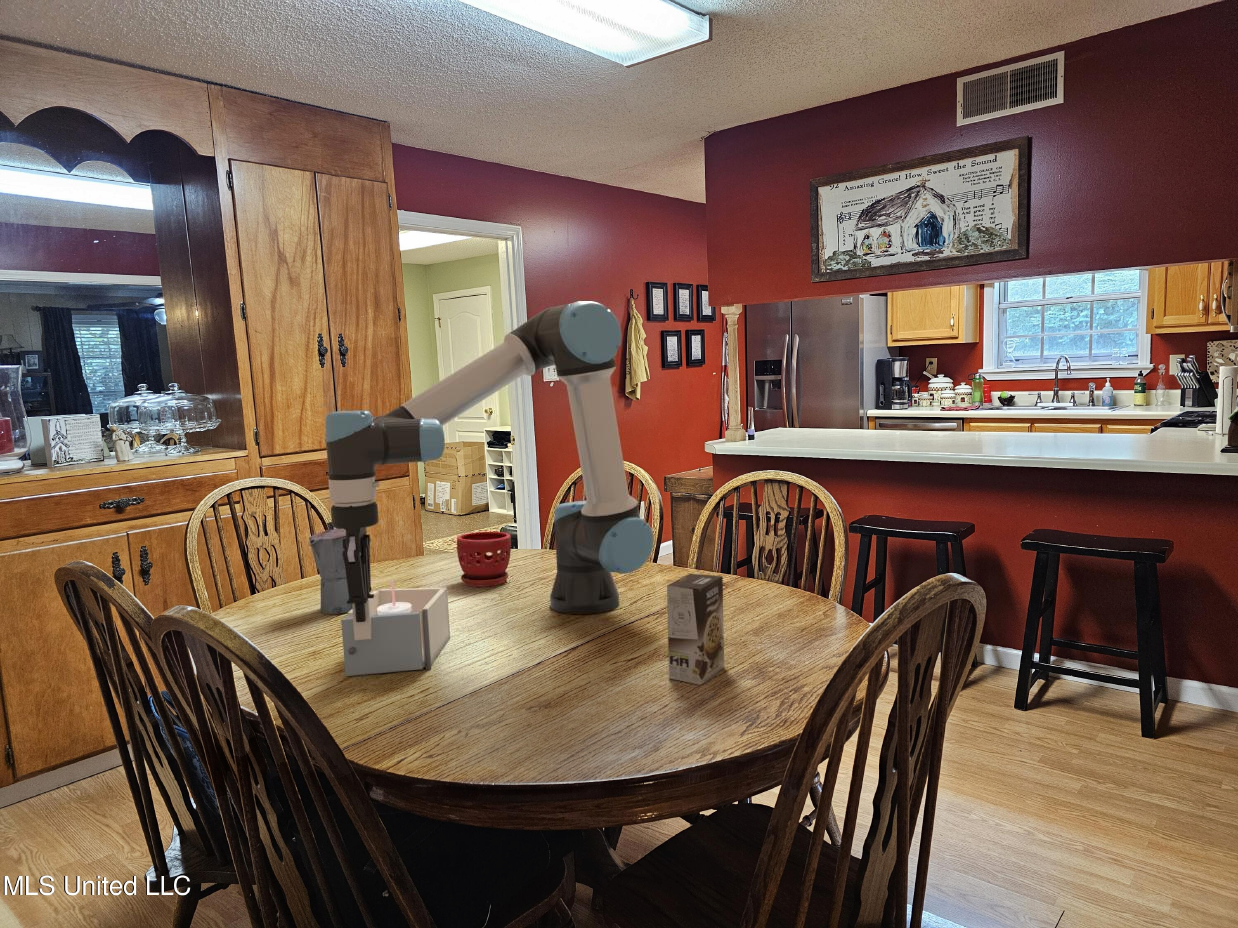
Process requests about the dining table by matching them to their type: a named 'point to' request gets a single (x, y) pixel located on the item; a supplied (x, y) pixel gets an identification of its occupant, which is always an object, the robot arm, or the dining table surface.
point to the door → (384, 645)
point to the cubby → (421, 616)
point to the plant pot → (484, 557)
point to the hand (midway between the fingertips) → (363, 638)
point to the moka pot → (331, 569)
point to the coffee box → (695, 628)
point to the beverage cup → (394, 605)
